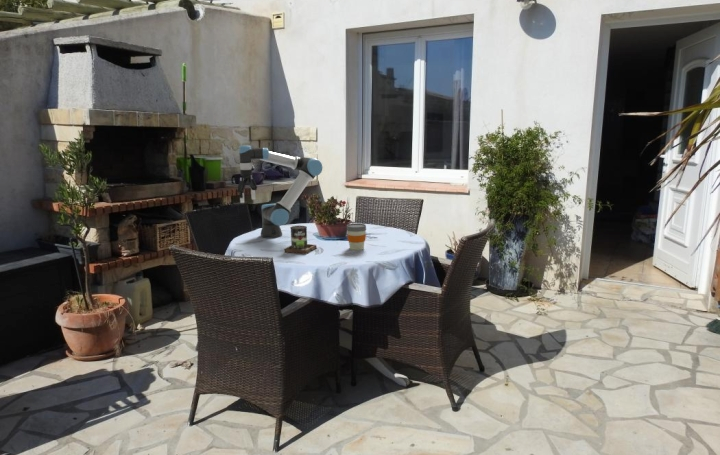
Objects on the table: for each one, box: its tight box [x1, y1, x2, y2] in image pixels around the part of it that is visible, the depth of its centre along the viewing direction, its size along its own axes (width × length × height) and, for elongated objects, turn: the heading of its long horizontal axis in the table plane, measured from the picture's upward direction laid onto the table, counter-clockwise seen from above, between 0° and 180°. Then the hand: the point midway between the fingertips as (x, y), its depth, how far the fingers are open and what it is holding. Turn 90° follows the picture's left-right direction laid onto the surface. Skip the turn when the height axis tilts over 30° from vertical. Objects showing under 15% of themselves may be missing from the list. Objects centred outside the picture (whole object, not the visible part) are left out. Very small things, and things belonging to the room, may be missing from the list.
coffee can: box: [290, 225, 308, 250], centre depth 334 cm, size 10×10×14 cm
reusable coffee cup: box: [346, 222, 367, 251], centre depth 336 cm, size 12×13×15 cm
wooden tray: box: [283, 243, 318, 255], centre depth 334 cm, size 15×15×2 cm
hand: (248, 201), depth 350 cm, fingers open, 13 cm apart
